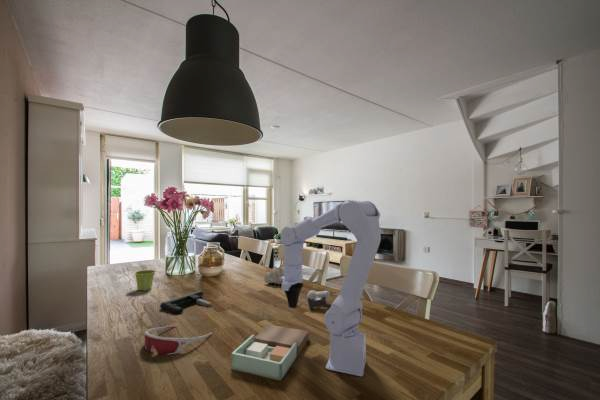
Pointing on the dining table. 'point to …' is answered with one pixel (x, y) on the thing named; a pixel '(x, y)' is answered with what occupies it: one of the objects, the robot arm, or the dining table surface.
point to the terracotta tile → (278, 353)
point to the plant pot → (144, 279)
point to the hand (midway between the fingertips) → (292, 307)
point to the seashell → (275, 275)
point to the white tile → (257, 349)
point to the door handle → (184, 302)
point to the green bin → (262, 361)
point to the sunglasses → (167, 342)
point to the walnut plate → (282, 337)
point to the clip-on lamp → (317, 298)
